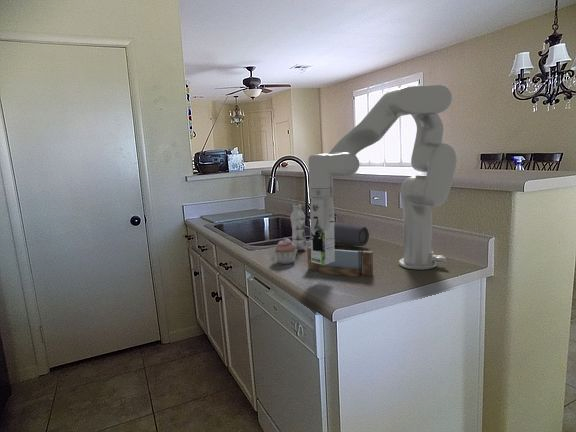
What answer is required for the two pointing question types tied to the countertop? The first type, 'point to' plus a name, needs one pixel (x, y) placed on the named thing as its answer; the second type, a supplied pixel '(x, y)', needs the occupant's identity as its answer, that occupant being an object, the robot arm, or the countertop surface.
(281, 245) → the cupcake
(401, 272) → the countertop surface
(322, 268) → the door frame
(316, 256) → the syrup box
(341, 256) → the door
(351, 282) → the countertop surface
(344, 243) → the bluetooth speaker
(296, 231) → the plastic bottle
